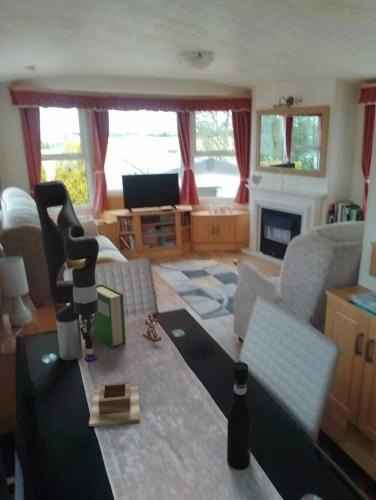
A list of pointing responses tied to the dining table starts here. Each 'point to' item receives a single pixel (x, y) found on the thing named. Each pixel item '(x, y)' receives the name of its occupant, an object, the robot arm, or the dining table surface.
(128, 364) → the dining table surface
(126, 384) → the socket board
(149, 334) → the openwork figure ornament
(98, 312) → the hardback book
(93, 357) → the toy lamp
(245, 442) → the wine bottle
